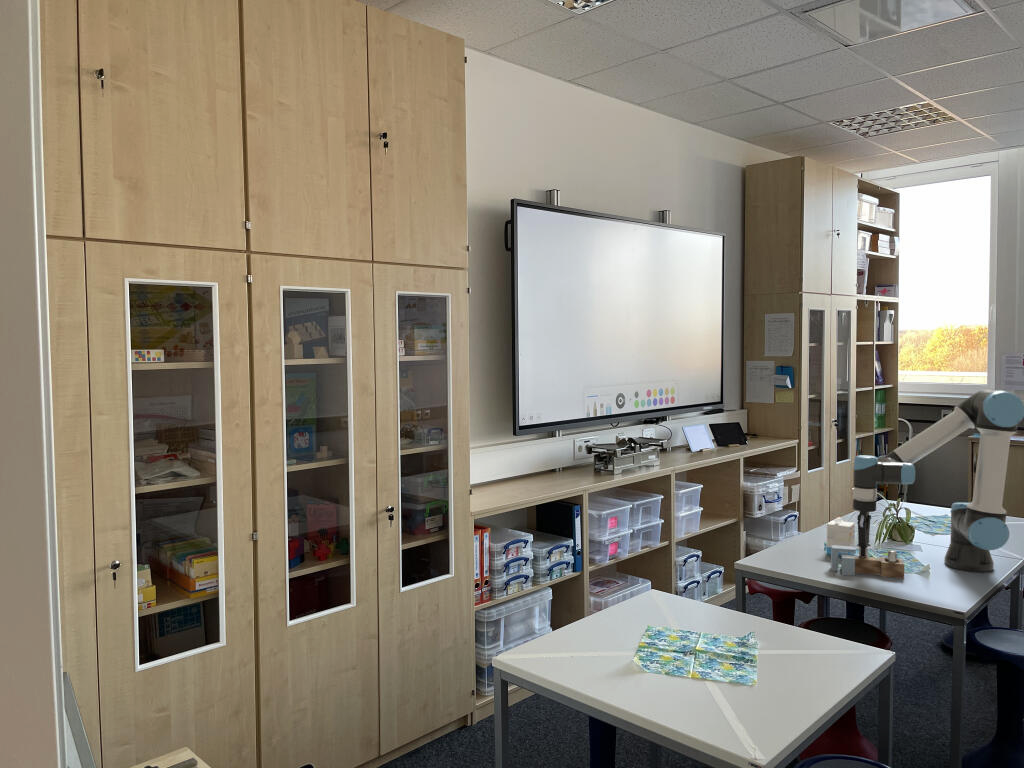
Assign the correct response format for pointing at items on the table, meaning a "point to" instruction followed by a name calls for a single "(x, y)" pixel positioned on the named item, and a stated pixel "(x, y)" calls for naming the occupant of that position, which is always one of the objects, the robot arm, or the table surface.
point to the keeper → (843, 560)
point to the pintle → (892, 556)
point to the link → (878, 566)
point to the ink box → (840, 535)
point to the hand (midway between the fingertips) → (863, 564)
